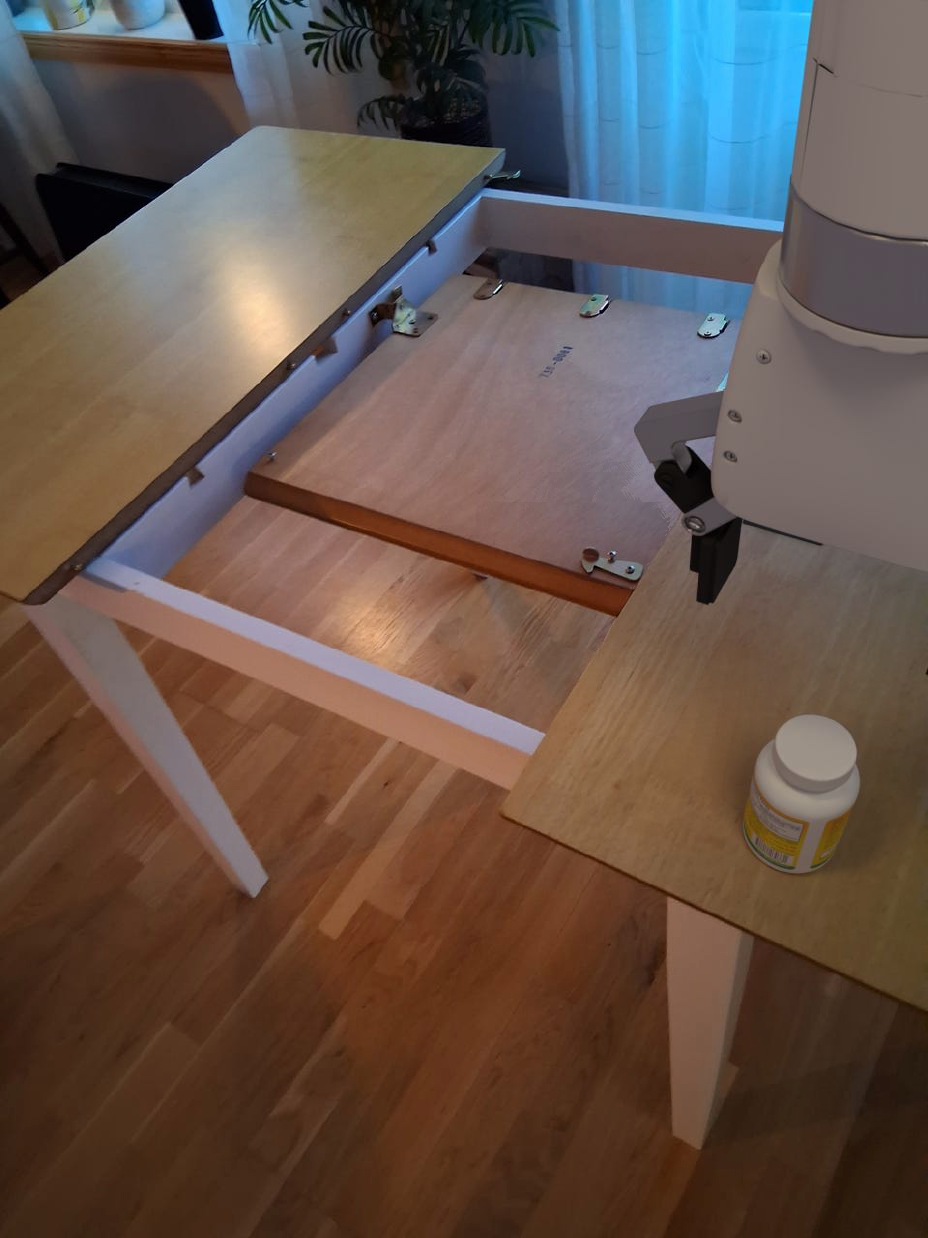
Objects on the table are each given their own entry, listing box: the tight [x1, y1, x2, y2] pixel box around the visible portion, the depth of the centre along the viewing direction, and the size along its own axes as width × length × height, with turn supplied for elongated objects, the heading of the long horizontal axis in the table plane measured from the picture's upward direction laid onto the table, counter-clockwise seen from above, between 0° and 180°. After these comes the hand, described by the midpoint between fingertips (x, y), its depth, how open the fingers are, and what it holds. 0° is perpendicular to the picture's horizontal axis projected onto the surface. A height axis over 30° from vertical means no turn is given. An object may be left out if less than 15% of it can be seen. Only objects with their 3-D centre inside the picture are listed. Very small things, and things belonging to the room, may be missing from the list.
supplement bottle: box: [742, 714, 861, 874], centre depth 51 cm, size 5×5×10 cm
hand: (823, 617), depth 40 cm, fingers open, 9 cm apart
